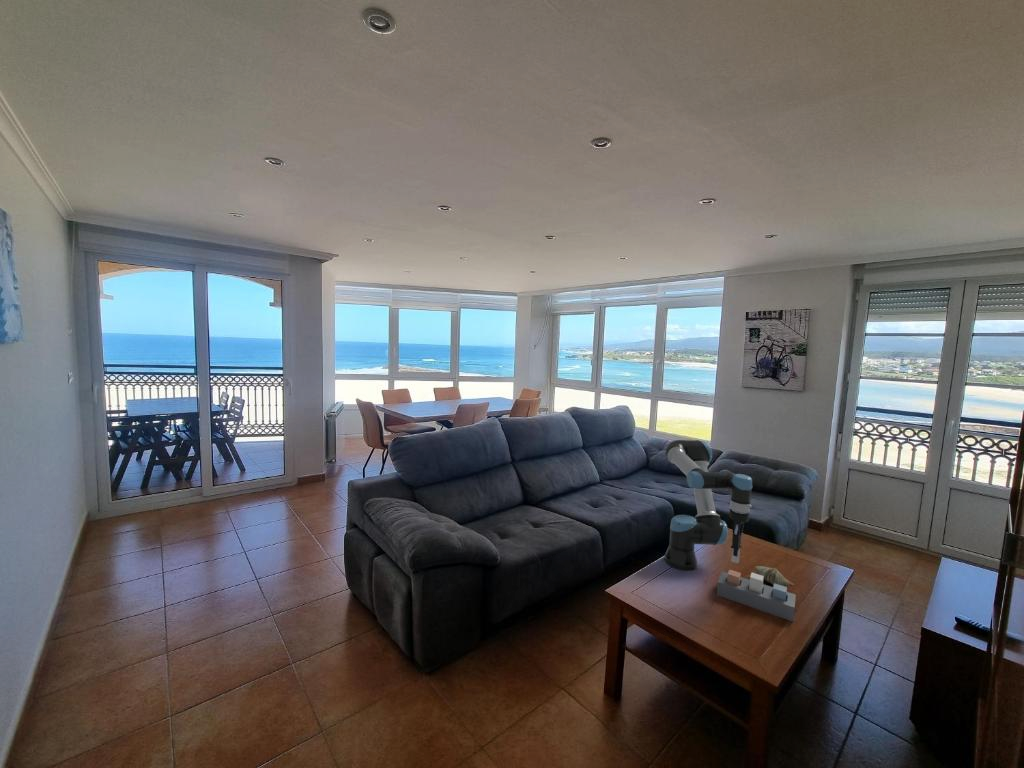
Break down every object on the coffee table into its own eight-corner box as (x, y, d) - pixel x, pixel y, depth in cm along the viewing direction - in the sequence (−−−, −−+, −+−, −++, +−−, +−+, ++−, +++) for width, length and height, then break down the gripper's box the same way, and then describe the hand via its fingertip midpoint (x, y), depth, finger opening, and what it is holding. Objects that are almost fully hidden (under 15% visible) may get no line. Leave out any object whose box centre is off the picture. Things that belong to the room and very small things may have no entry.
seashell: (796, 578, 186) (781, 562, 185) (791, 596, 181) (776, 580, 181) (767, 576, 198) (753, 562, 198) (762, 593, 193) (747, 578, 193)
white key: (748, 592, 176) (750, 577, 175) (750, 587, 180) (751, 572, 179) (761, 596, 173) (762, 580, 172) (762, 591, 177) (763, 576, 176)
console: (716, 594, 181) (717, 582, 180) (721, 583, 189) (722, 571, 189) (793, 621, 164) (794, 607, 164) (794, 607, 173) (795, 594, 172)
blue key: (771, 604, 171) (773, 588, 170) (772, 598, 175) (774, 583, 174) (784, 608, 168) (786, 592, 168) (785, 603, 172) (787, 587, 171)
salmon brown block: (726, 588, 181) (727, 573, 180) (728, 584, 185) (729, 569, 184) (738, 592, 178) (739, 577, 178) (739, 587, 182) (741, 573, 181)
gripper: (747, 517, 171) (742, 571, 173) (751, 508, 181) (746, 558, 184) (727, 513, 175) (722, 565, 178) (732, 503, 185) (728, 552, 188)
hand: (734, 561), depth 181 cm, fingers closed
